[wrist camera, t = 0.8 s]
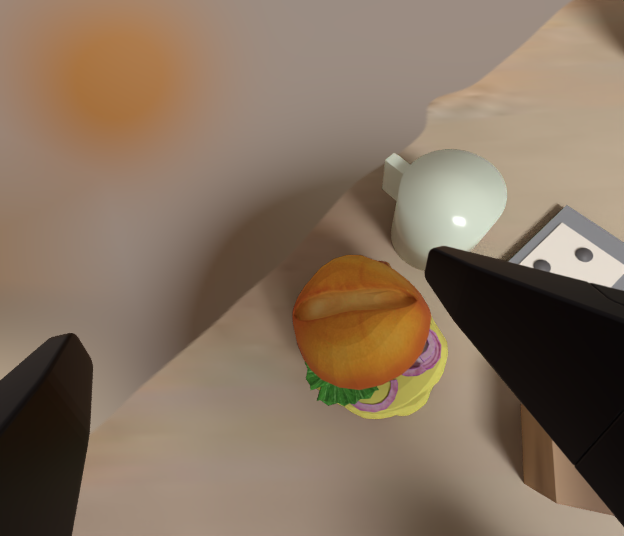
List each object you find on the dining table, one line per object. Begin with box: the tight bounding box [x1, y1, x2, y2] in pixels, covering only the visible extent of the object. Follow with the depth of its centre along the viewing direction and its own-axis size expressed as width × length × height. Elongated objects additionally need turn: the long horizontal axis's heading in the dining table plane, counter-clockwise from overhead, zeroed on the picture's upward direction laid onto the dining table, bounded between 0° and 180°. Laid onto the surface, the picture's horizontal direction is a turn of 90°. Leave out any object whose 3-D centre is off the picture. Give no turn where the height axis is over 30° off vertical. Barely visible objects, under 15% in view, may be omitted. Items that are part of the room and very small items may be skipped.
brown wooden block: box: [521, 404, 614, 516], centre depth 20 cm, size 5×5×4 cm
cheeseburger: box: [292, 255, 448, 419], centre depth 23 cm, size 10×11×10 cm
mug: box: [382, 149, 507, 271], centre depth 26 cm, size 9×7×7 cm
